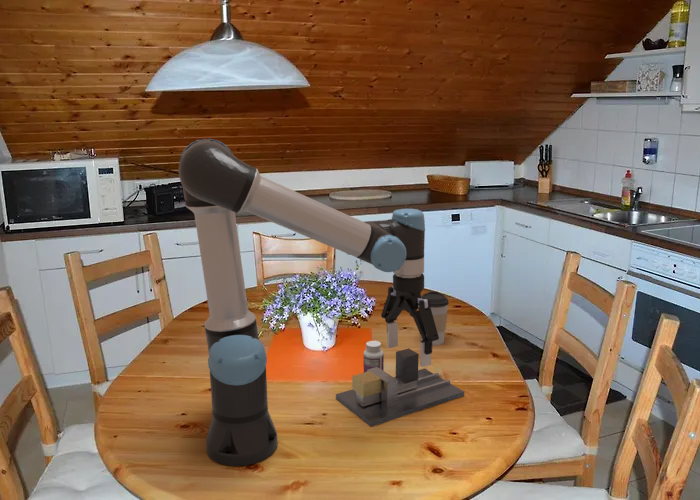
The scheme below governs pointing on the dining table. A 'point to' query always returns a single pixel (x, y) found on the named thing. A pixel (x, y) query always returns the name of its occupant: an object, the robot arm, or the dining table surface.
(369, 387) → the block
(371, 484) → the dining table surface
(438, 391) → the slotted base plate
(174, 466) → the dining table surface
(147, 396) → the dining table surface
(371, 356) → the pill bottle
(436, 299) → the coffee cup
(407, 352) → the sliding bolt with handle
